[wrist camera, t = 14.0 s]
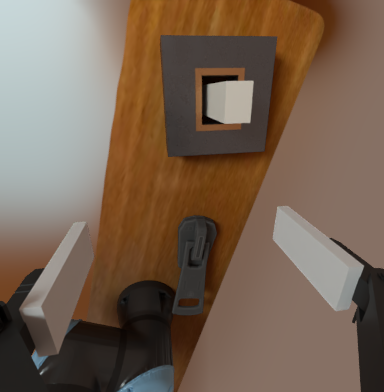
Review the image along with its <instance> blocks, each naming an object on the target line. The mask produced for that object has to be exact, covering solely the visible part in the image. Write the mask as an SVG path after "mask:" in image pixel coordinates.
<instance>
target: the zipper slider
mask: <svg viewBox="0 0 384 392" xmlns="http://www.w3.org/2000/svg"><path fill="white" fill-rule="evenodd" d="M216 234H217V232H216V228H215V224H214V222H213V220H212V219H209V218H207V217H204V216H190V217H186V218H184V219H183V221H182V222H181V224H180V225H179V227H178V267H180V268H181V274H180V278H179V282H178V287H177V291H176V296H175V300H174V304H173V309H172V313H173V314H177V315H196V314H200V313H202V312H203V304H204V289H205V276H206V265H207V259H208V257H209V254H210V251H211V248H212V245H213V242H214V240H215V237H216ZM181 298H199V304H198V305H196V306H180V305H178V303H179V300H180V299H181Z"/></svg>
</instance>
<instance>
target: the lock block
mask: <svg viewBox="0 0 384 392" xmlns="http://www.w3.org/2000/svg"><path fill="white" fill-rule="evenodd" d="M276 43H277V37H271V36H175V35H161V38H160V52H161V67H162V82H163V98H164V113H165V128H166V144H167V152H168V157H173V156H191V155H208V154H226V153H244V152H262V151H265V142H266V133H267V124H268V115H269V106H270V97H271V88H272V79H273V70H274V61H275V52H276ZM202 78H227V81H254V83H253V96H252V108H251V120H250V123H233V124H224V123H222V122H219V121H217V120H210V121H202Z"/></svg>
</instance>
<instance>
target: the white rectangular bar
mask: <svg viewBox="0 0 384 392" xmlns="http://www.w3.org/2000/svg"><path fill="white" fill-rule="evenodd" d="M253 83H254V81H224V82H218V83H213V84H207V85H202V114H203V115H205V116H208V117H210V118H212V119H215V120H217V121H219V122H222V123H224V124H233V123H250V120H251V108H252V96H253Z"/></svg>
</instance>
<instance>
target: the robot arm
mask: <svg viewBox="0 0 384 392" xmlns="http://www.w3.org/2000/svg"><path fill="white" fill-rule="evenodd" d="M273 240H274V241H275V242H276V243H277V244H278V246H279V247H280V248H281V249H282V250H283V251H284V252H285V253H286V255H287V256H288V257H289V258H290V259H291V261H292V262H293V263H294V264H295V265H296V266H297V268H298V269H299V270H300V271H301V272H302V273H303V274H304V276H306V278H307V279H308V280H309V281H310V283H311V284H312V285H313V286H314V287H315V288H316V289H317V291H318V292H319V293H320V294H321V295H322V296H323V297H324V299H325V300H326V301H327V302H328V303H329V304H330V306H331V307H332V308H333V309H334V310H335V311H339V310H346V309H349V307H350V304H351V301H352V300H353V301H354V302H355V303H356V304H357V305H358V307H357V309H356V312H355V315H354V318H353V321H352V322H353V323H355V321H356V320H357V335H358V351H359V366H360V367H359V368H360V383H361V392H384V269H381V268H373V267H372V266H371V265H369V264H368V263H367V262H366V261H364V260H363V259H361V258H360V257H359V256H358V255H356V254H354V253H353V252H352V251H351V250H350V249H348V248H347V247H346V246H344V245H343V244H342V243H340V242H338V241H336V240H334V239H332V238H328V237H327V236H325V235H324V234H323V233H322V232H320V231H319V230H318V229H316V228H315V227H314V226H313V225H311V224H310V223H309V222H307V221H306V220H305V219H304V218H302V217H301V216H300V215H299V214H297V213H296V212H295V211H293V210H292V209H291V208H290V207H288V206H279V207H277V214H276V221H275V227H274V234H273ZM93 259H94V253H93V248H92V244H91V239H90V234H89V229H88V225H87V222H75V223H74V224H73V225H72V227H71V228H70V230H69V232H68V233H67V235H66V236H65V238H64V240H63V241H62V242H61V244H60V246H59V247H58V249H57V250H56V252H55V253H54V255H53V257H52V258H51V260H50V261H49V263H48V264H47V266H46V268H42V269H35V270H34V271H33V272H31V273H30V274H29V275H27V276H26V277H25V279H24V280H23V281H22V283H21V284H20V287H18V288H17V290H16V291H15V294H13V295H12V297H11V298H10V300H9V301H8V302H7V304H5V303H4V302H3V301H0V392H173V389H174V367H173V357H172V343H171V330H170V326H171V322H172V319H173V315H174V314H173V313H172V309H173V304H174V300H175V296H174V293H173V291H172V290H171V289H170V288H169V287H168V286H167V285H165V284H163V283H160V282H157V281H141V282H137V283H134V284H132V285H130V286H128V287H127V288H126V289H125V290H124V291H123V292H122V293H121V294H120V296H119V299H118V304H117V314H118V319H119V324H120V328H116V327H111V326H106V325H101V324H96V323H91V322H86V321H82V320H81V319H79V320H74V319H71V318H72V315H73V313H74V310H75V307H76V304H77V302H78V299H79V296H80V294H81V291H82V288H83V285H84V283H85V280H86V277H87V275H88V272H89V269H90V267H91V264H92V261H93ZM34 349H35V352H34V354H33V356H32V357H31V355H32V353H33V351H34Z"/></svg>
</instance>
